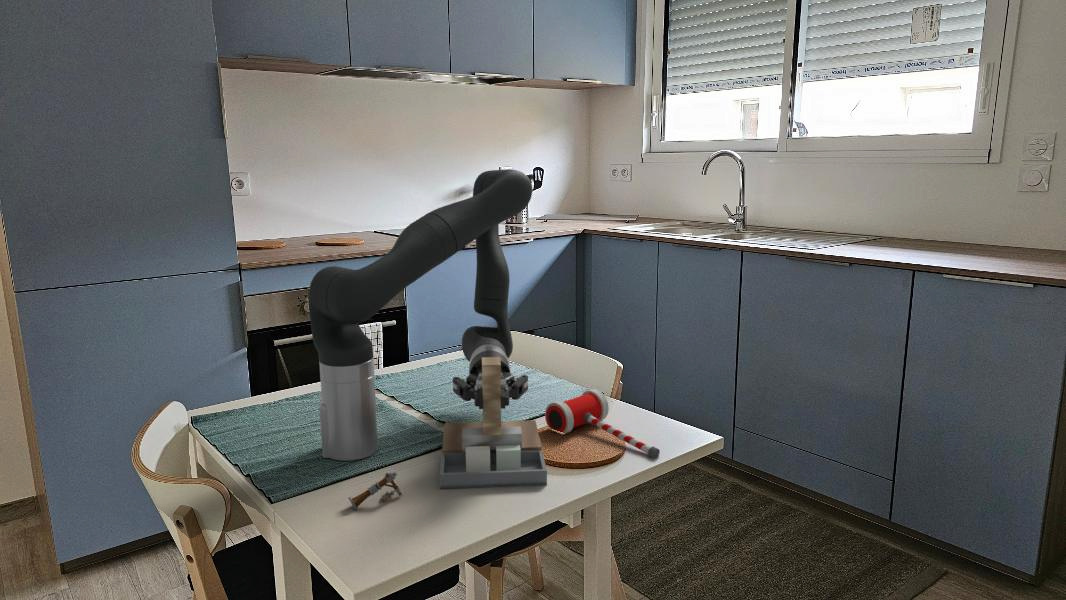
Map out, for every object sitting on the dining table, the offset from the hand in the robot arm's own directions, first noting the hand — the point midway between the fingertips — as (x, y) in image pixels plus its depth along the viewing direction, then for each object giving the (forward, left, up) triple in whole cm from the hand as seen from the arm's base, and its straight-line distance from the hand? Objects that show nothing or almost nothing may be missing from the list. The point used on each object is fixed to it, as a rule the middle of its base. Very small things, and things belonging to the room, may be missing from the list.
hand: (492, 403), depth 116 cm
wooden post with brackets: (-19, -7, -13) cm, 24 cm away
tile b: (+3, +2, -10) cm, 11 cm away
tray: (0, 0, -13) cm, 13 cm away
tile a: (-3, +2, -10) cm, 11 cm away
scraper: (0, +4, -9) cm, 10 cm away
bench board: (0, +10, -13) cm, 17 cm away
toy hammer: (+21, +16, -13) cm, 29 cm away
